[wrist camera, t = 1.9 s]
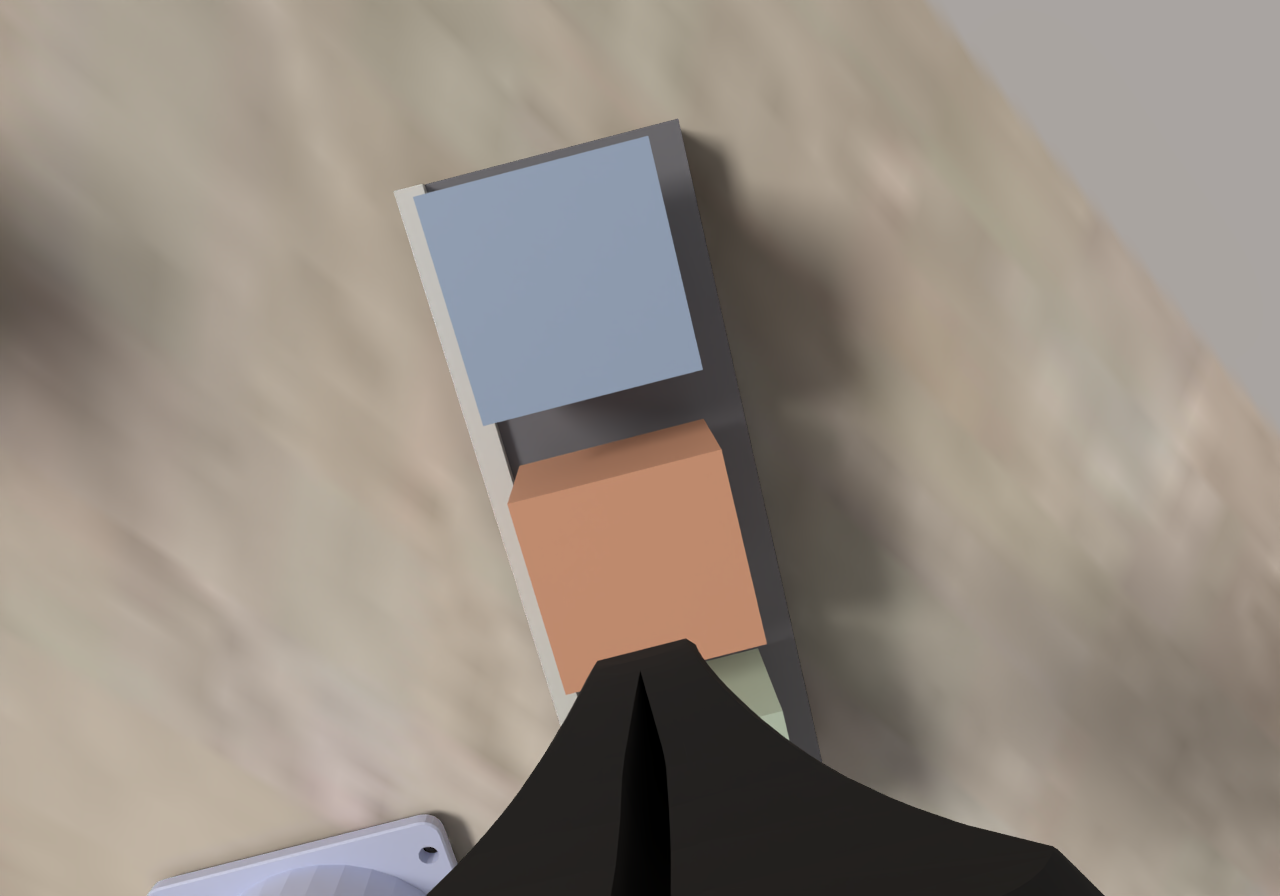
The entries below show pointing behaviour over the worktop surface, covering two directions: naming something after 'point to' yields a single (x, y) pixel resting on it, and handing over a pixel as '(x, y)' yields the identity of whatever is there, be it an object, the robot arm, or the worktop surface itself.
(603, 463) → the terracotta key
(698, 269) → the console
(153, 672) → the worktop surface
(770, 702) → the sage key
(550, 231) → the light blue square block
